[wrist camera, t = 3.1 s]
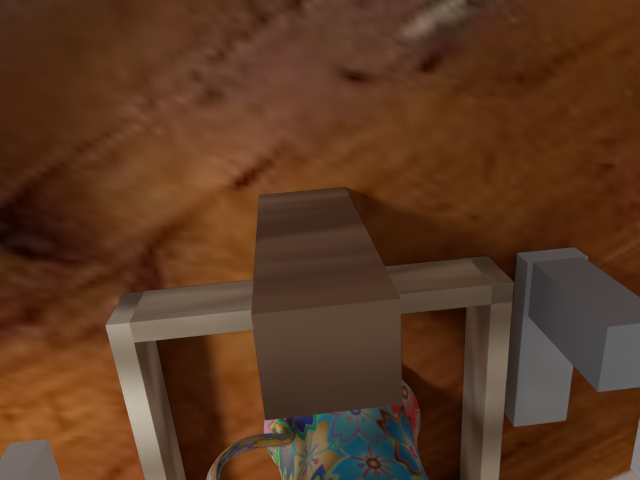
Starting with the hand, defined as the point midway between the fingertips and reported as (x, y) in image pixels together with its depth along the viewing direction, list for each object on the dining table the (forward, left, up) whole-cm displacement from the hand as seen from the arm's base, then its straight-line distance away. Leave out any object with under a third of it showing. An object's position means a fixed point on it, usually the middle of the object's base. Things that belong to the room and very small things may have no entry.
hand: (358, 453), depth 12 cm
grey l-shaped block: (+7, +12, -14) cm, 20 cm away
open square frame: (+8, 0, -14) cm, 16 cm away
